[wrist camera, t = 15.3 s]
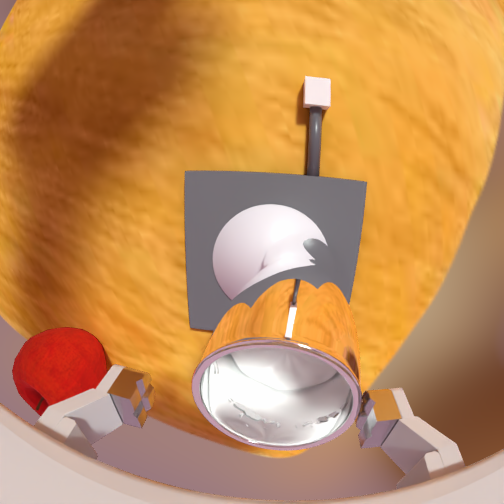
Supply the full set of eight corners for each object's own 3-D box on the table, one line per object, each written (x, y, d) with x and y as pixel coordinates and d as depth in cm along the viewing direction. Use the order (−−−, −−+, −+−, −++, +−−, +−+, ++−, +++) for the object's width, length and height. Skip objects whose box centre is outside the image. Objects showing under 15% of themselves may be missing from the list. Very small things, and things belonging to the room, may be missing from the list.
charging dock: (192, 81, 20) (187, 76, 19) (366, 90, 19) (372, 86, 18) (192, 322, 28) (188, 330, 26) (339, 333, 26) (342, 342, 25)
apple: (65, 359, 33) (17, 413, 20) (52, 294, 29) (-16, 345, 17) (129, 388, 33) (87, 458, 20) (123, 323, 29) (58, 399, 16)
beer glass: (269, 310, 25) (220, 451, 11) (248, 237, 23) (157, 342, 9) (346, 297, 23) (367, 445, 9) (331, 219, 21) (362, 317, 7)
